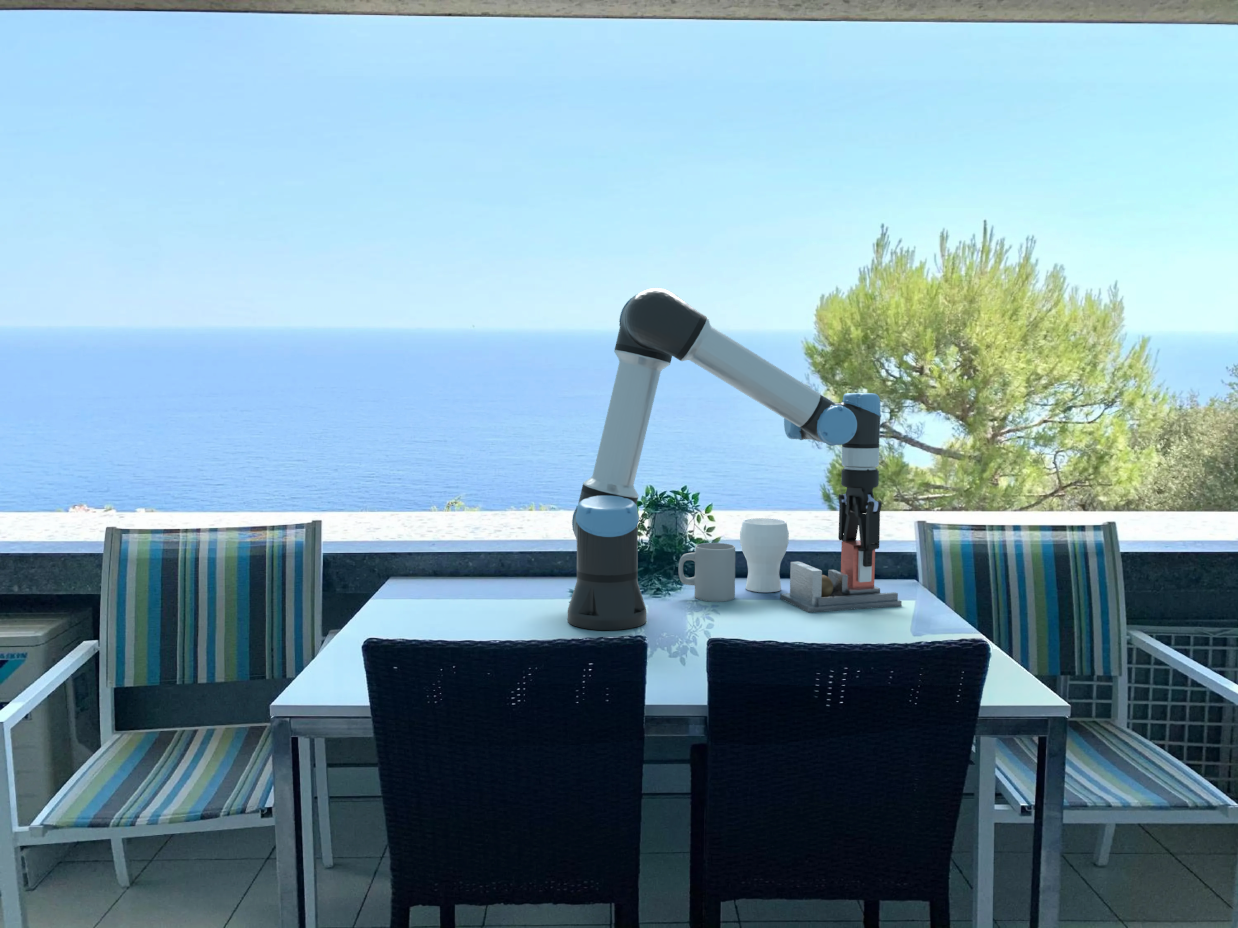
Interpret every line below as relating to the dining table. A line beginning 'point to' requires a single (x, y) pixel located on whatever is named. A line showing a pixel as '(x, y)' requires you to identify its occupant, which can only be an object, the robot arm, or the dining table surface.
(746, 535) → the cup
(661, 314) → the robot arm
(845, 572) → the block
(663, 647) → the dining table surface
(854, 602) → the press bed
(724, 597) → the mug
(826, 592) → the nut
